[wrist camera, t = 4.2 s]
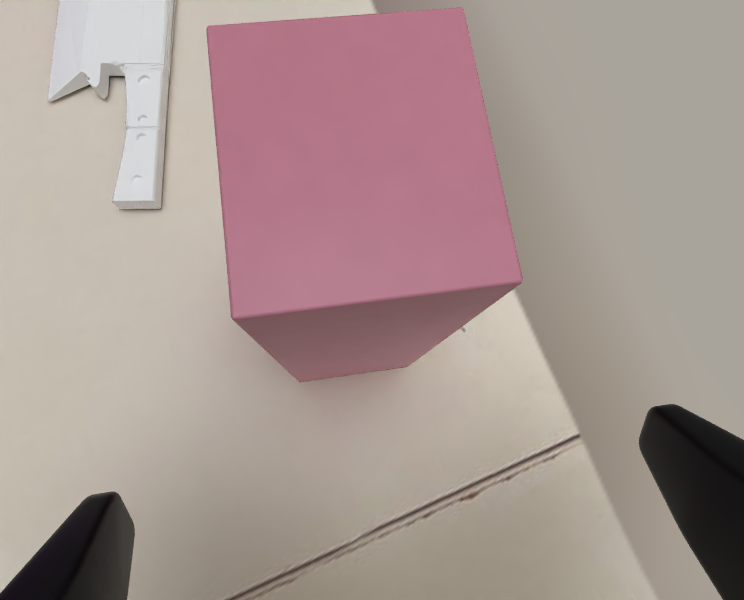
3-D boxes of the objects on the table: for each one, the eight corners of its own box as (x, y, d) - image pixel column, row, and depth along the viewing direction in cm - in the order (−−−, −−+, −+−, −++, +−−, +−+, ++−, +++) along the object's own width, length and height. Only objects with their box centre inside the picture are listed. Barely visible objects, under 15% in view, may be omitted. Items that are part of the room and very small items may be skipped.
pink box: (408, 366, 20) (524, 282, 8) (298, 382, 20) (230, 320, 7) (389, 249, 21) (464, 6, 9) (285, 261, 21) (205, 24, 8)
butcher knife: (34, 210, 21) (17, 198, 20) (74, -82, 24) (61, -105, 23) (161, 209, 21) (151, 197, 20) (182, -80, 24) (174, -102, 23)
